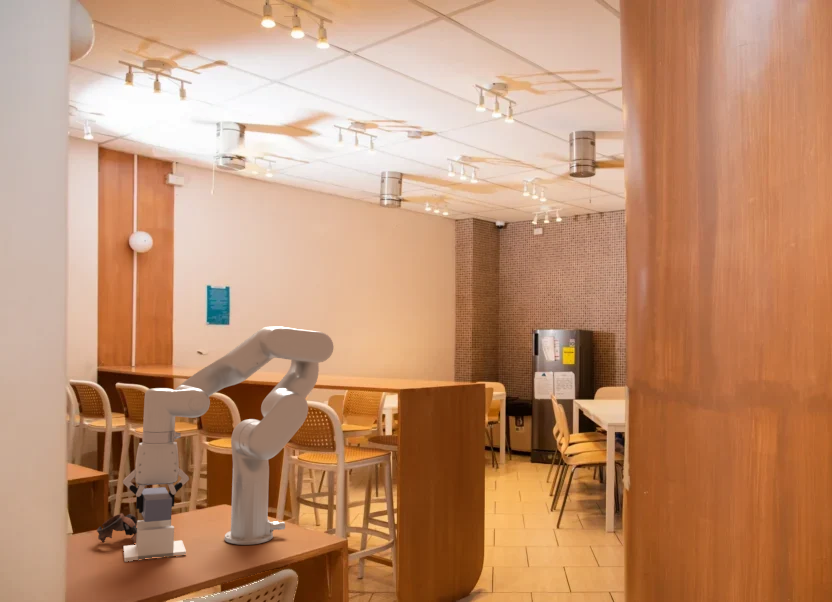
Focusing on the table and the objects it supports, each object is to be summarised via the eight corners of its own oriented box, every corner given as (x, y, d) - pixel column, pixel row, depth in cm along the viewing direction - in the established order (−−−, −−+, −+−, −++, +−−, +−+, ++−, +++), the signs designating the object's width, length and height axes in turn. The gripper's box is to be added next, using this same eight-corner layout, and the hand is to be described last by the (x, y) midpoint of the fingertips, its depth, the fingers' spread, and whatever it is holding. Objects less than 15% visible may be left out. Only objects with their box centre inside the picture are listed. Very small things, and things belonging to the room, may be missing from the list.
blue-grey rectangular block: (164, 506, 181) (164, 487, 181) (171, 519, 169) (172, 498, 169) (139, 508, 178) (140, 488, 179) (144, 522, 166) (145, 500, 166)
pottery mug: (134, 550, 177) (117, 523, 175) (102, 564, 178) (85, 538, 176) (153, 525, 188) (137, 500, 187) (124, 539, 190) (108, 514, 188)
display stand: (181, 544, 181) (182, 516, 181) (186, 555, 171) (187, 526, 172) (123, 549, 175) (124, 521, 175) (124, 561, 166) (125, 532, 166)
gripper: (192, 434, 182) (189, 505, 180) (120, 436, 174) (117, 509, 173) (196, 438, 175) (192, 511, 174) (121, 441, 168) (117, 517, 167)
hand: (155, 510), depth 174 cm, fingers closed on blue-grey rectangular block, 6 cm apart
